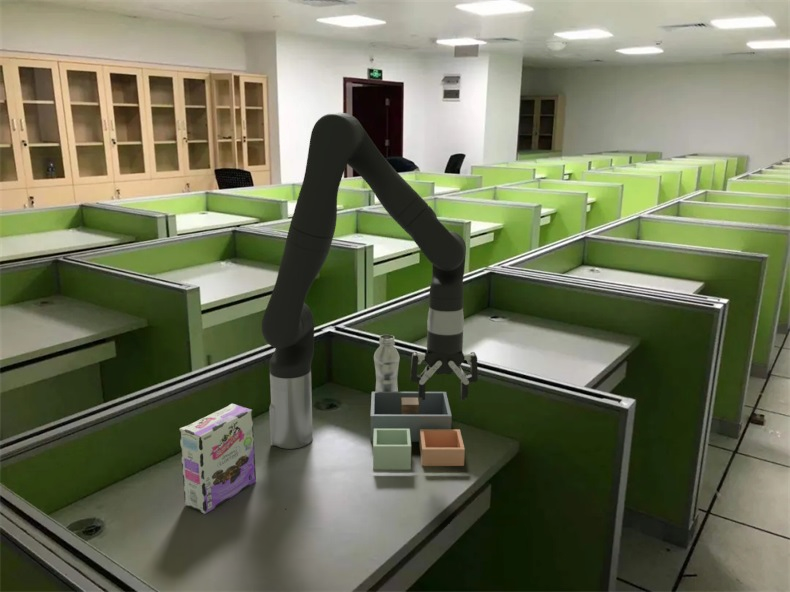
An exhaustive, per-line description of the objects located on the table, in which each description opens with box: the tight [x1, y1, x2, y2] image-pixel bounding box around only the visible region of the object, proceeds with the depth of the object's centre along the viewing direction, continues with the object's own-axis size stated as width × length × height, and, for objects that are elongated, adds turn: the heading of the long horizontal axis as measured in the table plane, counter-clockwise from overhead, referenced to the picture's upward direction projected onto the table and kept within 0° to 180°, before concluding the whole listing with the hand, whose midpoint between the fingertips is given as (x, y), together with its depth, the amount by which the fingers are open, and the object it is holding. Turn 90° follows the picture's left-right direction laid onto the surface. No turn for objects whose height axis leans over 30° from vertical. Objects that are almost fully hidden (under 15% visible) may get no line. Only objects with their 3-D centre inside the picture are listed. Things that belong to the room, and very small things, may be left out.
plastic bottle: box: [373, 334, 401, 392], centre depth 159 cm, size 6×7×20 cm
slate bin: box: [370, 391, 453, 443], centre depth 150 cm, size 19×14×7 cm
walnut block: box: [401, 398, 419, 415], centre depth 150 cm, size 4×4×7 cm
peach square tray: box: [419, 428, 466, 467], centre depth 138 cm, size 9×9×4 cm
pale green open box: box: [372, 429, 412, 470], centre depth 136 cm, size 8×8×6 cm
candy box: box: [178, 403, 257, 515], centre depth 122 cm, size 14×6×16 cm, turn 148°
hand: (442, 398), depth 135 cm, fingers open, 8 cm apart
